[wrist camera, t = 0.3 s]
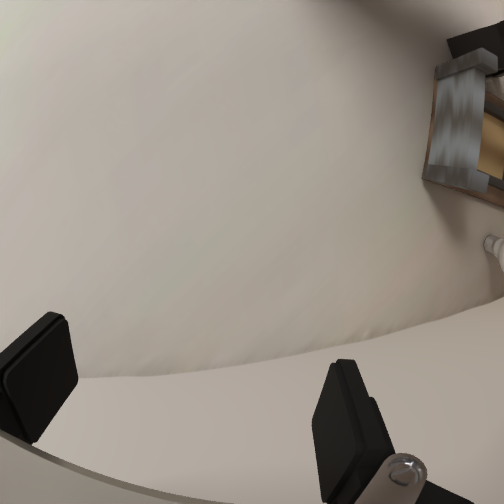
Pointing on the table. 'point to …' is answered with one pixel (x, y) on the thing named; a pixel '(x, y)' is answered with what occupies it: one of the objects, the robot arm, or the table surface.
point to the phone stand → (481, 44)
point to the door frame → (467, 129)
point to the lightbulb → (496, 248)
